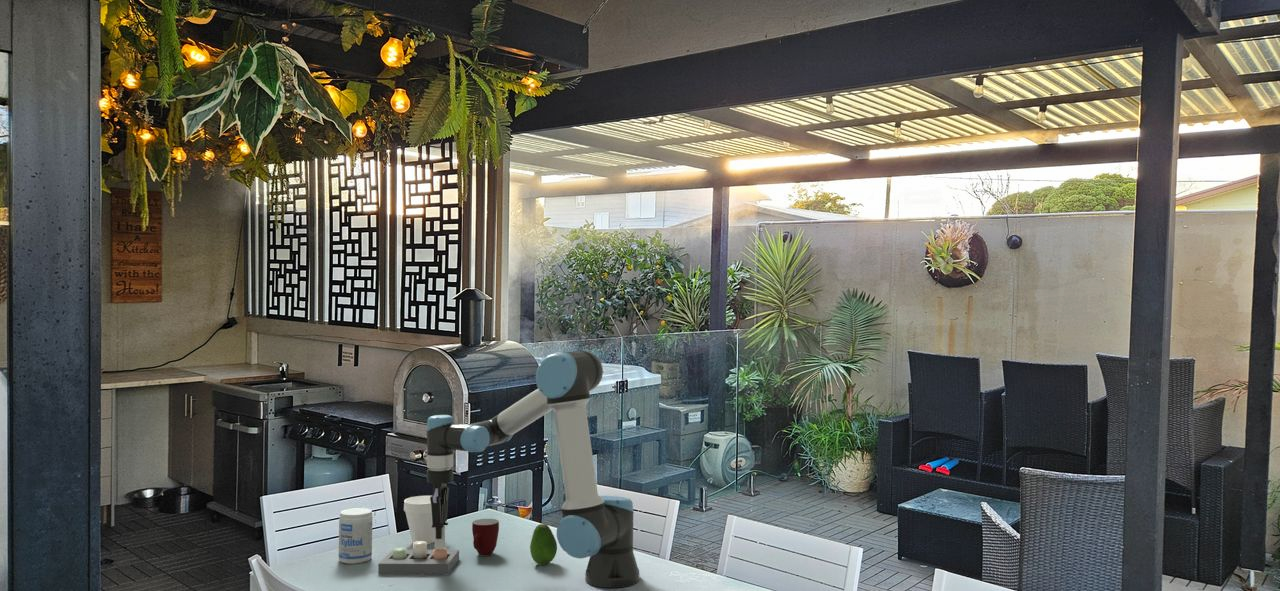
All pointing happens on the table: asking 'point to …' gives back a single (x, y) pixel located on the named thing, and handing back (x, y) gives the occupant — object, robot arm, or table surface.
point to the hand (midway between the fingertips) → (439, 548)
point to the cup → (420, 518)
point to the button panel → (418, 564)
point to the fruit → (543, 545)
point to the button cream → (420, 549)
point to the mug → (485, 535)
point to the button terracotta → (439, 554)
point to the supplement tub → (355, 535)
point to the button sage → (400, 553)
